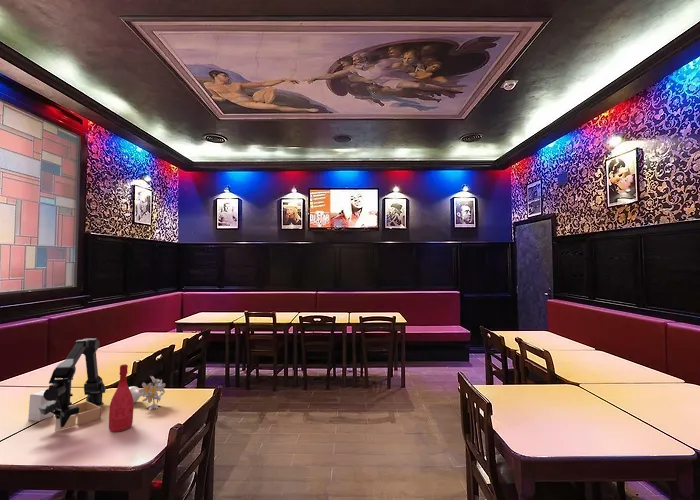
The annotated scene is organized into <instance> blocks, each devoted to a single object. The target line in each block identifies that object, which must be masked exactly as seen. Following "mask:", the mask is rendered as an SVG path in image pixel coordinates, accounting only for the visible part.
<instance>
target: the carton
mask: <svg viewBox="0 0 700 500" xmlns="http://www.w3.org/2000/svg"><path fill="white" fill-rule="evenodd" d="M70 406H76V407H78V408H80V411H79V413H77V414H74V415H76V424H75V426H76V427H78V426H82V425H84V424H87V423H92V422H94V421H97V420H101V419H102V407H101V406H99V405H95V404H92V403H90V402H88V401H86V400H85V401H83V402H78V403H76V404H72V405H70ZM70 406H69V407H70ZM71 416H72V415H71Z"/></svg>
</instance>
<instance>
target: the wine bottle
mask: <svg viewBox="0 0 700 500" xmlns="http://www.w3.org/2000/svg"><path fill="white" fill-rule="evenodd" d="M128 367H129V366H128V365H127V364H121V365H119V383H118V386H117V388H116V390H115V392H114V394H113V396H112V398H111V400H110V404H109V409H108V411H109V412H108V414H109V415H108V429H109V431H110V432H115V433H117V432H123V431H126V430H129V429H130V428H131V427H132V426H133V422H134V421H133V420H134V410H135V409H134V408H135V407H134V406H135V405H134V404H135V403H134V401H133V397H132V394H131V392H130V390H129V387H130V386H129V385H128V381H127V374H128Z"/></svg>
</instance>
